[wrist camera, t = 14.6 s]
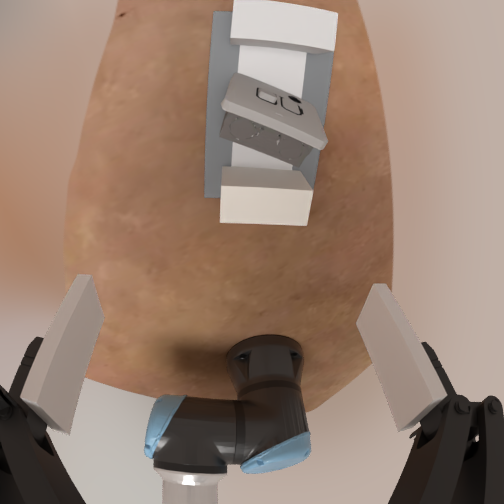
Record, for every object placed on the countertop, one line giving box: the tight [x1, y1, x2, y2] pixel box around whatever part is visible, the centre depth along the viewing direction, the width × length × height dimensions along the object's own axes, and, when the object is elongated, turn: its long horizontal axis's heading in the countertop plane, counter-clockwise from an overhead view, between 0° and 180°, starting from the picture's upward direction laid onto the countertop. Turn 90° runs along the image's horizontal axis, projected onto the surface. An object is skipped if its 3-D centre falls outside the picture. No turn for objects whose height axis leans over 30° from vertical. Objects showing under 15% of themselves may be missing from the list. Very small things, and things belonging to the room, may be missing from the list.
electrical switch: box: [219, 73, 328, 168], centre depth 25 cm, size 9×5×9 cm, turn 67°
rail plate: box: [204, 0, 338, 226], centre depth 26 cm, size 22×13×7 cm, turn 175°
